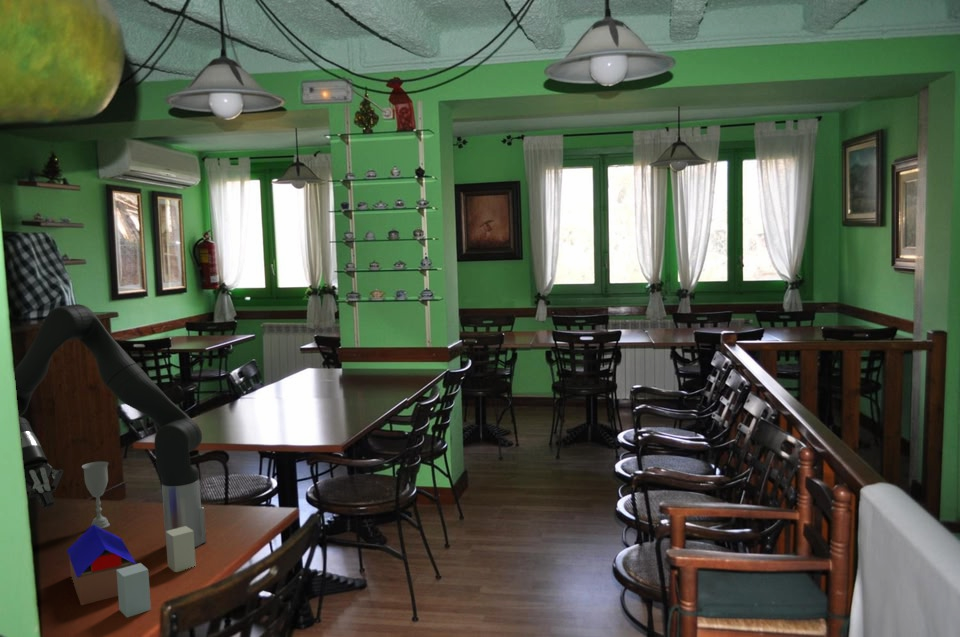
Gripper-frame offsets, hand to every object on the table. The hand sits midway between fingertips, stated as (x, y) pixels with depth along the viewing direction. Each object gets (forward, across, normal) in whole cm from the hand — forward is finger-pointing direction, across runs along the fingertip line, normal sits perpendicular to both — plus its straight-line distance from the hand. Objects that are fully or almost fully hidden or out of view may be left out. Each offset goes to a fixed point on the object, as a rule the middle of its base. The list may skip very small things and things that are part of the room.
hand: (49, 506), depth 191 cm
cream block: (+33, +16, -13) cm, 39 cm away
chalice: (0, +18, +20) cm, 27 cm away
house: (+28, 0, -8) cm, 30 cm away
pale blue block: (+42, -2, -22) cm, 48 cm away
